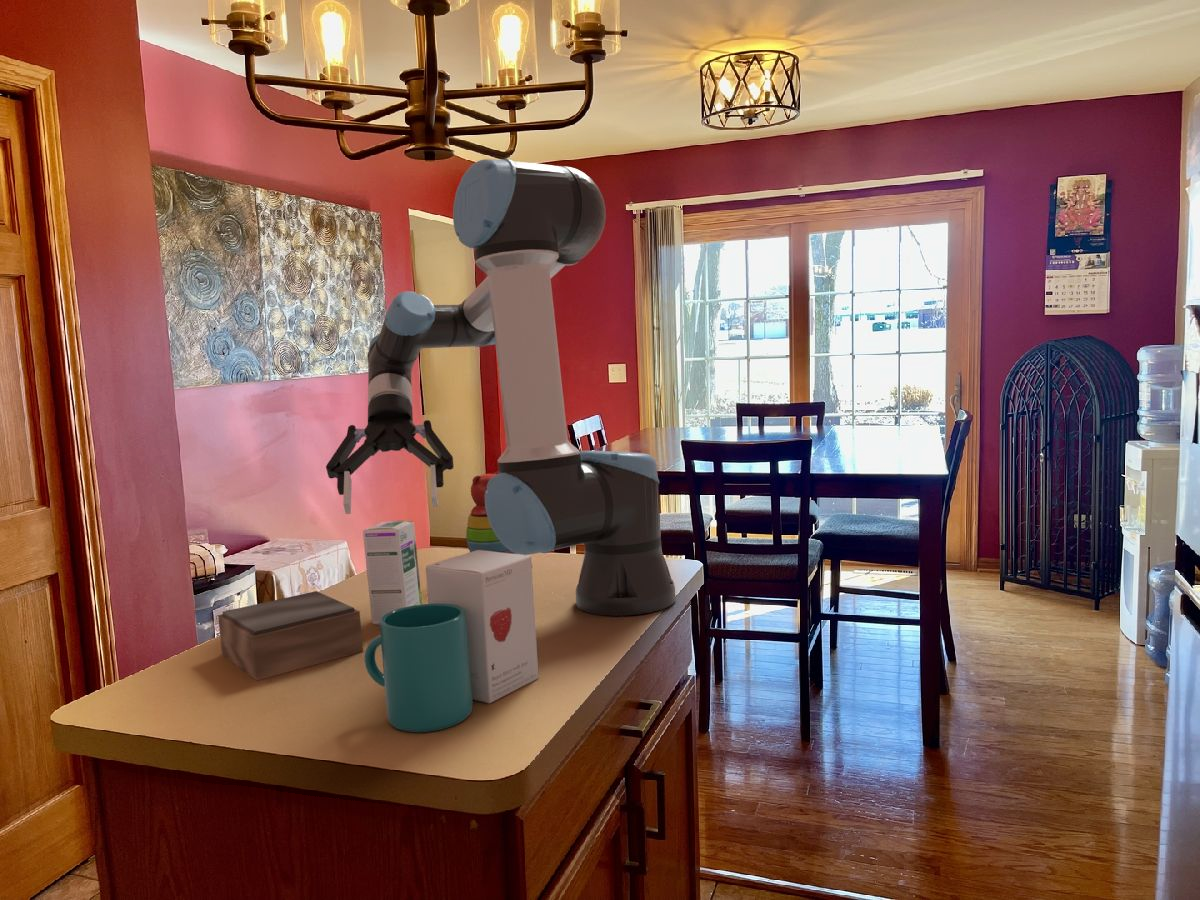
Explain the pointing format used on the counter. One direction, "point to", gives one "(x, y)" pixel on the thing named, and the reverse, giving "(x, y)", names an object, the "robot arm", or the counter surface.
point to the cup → (423, 666)
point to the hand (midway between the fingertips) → (391, 505)
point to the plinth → (289, 634)
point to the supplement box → (492, 617)
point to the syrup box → (391, 567)
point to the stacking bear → (482, 520)
